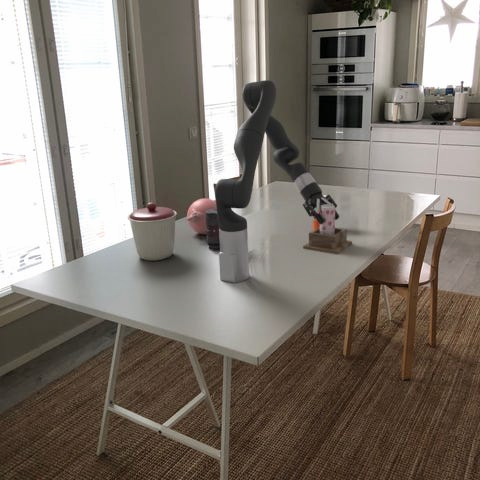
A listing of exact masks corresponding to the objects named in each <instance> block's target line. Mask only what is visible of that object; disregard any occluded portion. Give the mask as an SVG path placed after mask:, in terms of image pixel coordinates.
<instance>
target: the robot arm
mask: <svg viewBox="0 0 480 480" xmlns="http://www.w3.org/2000/svg"><path fill="white" fill-rule="evenodd" d="M241 92H242V101H243V102H244V104H245V106H246V108H247V109H248V111H249V112H250V113H251V115H249V117H247V118H246V119H245V121H244V122H243V123H242V124H241V125H240V126H239V127H238V129H237V133H236V136H235V139H234V142H233V151H234V154H235V157H236V159H237V160H238V163H239V166H240V167H241V172H242V173H241V177H240V179H233V178H220V179H219V180H218V181H217V183H216V184H215V189H214V190H215V191H214V196H215V197H214V198H215V202H216V208H217V219H218V223H219V236H220V250H219V252H218V261H219V277H220V278H219V280H221V281H225V282H229V283H233V284H236V283H239V282H243V281H246V280H248V279H249V278H250V267H249V263H250V262H249V242H248V241H249V239H248V220H247V219H246V218H245V217H244V216H242V215H240V214H238V213H236V212H235V211H234V210H233V209H239V210H240V209H246V208H247V207H248V206H249V204H250V202H251V198H252V194H253V193H252V192H253V185H254V182H255V176H256V175H255V174H256V169H257V165H258V161H259V157H260V154H261V151H262V149H263V144H264V138H265V134H266V137H267V139H268V141H269V143H270V145H271V147H272V148H273V149H274V150H275V151H274V152H273V154H272V160H273V162H274V163H275V164H276V165H277V166H278V167H280V168H281V169H282V170H283V171H284V172H285V173H286V174H287V175H288V176H289V177H290V179H291V180H292V182H293V183H294V186H295V188H296V189H297V191H298V192H299V194H300V195H301V197H302V198H303V200H304V202H303V203H302V207H303V208H304V210H305V212H306V213H307V215H308V217H312V218H313V217H315V218H316V219H317V221H318V222H319V223H320V224H323V223H324V222H325V221H324V219H323V218H322V216H321V215H320V214H319V210H320V208H321V205H324V204H331V205H334V206H335V221H336V220H339V219H340V215H339V213H338V212H337V210H336V208H337V207H338V204H337V203H336V202H335V200H334V199H333V198H332V196H331V195H330V194H327V195H325V196H326V197H324V196H323V190H322V188H321V187H320V186H319V184H318V182H317V181H316V180H315V178H314V177H313V176H312V174H311V173H310V172H309V171H308V168H306V166H305V165H304V164H303V163H302V162H296V163H293V162H294V161H295V160H297V159H299V157H300V149H299V147H298V146H297V145H296V144H295V143H293V141H292V140H291V139H290V138H289V136H288V134H287V132H286V130H285V127H284V126H283V124H282V123H281V122H280V121H279V120H278V119H277V118H276V117H274V116H272V115H271V114H272V112H273V110H274V107H275V103H276V99H277V87H276V85H275V83H274V82H273V81H272V80H269V79H267V80H260V81H252V82H248V83H246V84H244V86H243V87H242V91H241ZM291 163H293V164H291Z"/></svg>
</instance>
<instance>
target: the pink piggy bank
mask: <svg viewBox="0 0 480 480" xmlns="http://www.w3.org/2000/svg"><path fill="white" fill-rule="evenodd" d="M211 209H217V208H216V200H214V199H210V198H199V199H197V200H195V201H193V202H192V204H191V205H190V206H189V208H188V209H187V214H186V221H187V222H188V225H189V226H190V229H192V230H193V231H194V232H195V233H197V234H199V235H206V236H207V233H206V220H205V215H206V211H207V210H211Z"/></svg>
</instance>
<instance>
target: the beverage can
mask: <svg viewBox="0 0 480 480" xmlns="http://www.w3.org/2000/svg"><path fill="white" fill-rule="evenodd" d="M335 210H336V208H335V206H334V205H333V204H332V205H331V204H324V205H321V208H320V215H321V216H322V218H323V219H324V221H325V222H324V223H323V224H320V234H326V235H333V236H334V235H335V228H336V220H335Z"/></svg>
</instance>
